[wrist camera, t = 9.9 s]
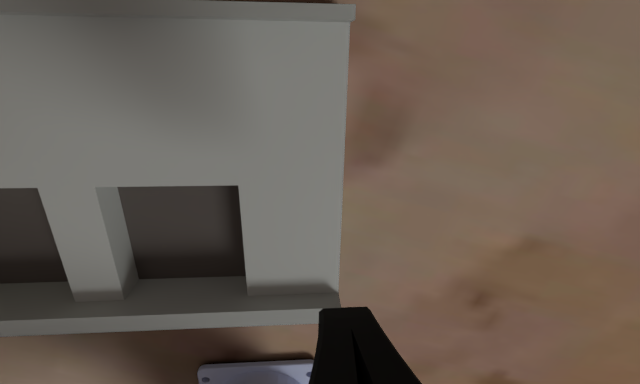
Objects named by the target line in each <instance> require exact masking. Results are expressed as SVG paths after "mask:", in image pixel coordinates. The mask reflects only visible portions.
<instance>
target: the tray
mask: <svg viewBox="0 0 640 384" xmlns="http://www.w3.org/2000/svg"><path fill="white" fill-rule="evenodd" d="M355 10H356V4H323V3H286V2H248V1H210V0H0V337H8V336H32V335H55V334H79V333H103V332H127V331H150V330H174V329H198V328H222V327H245V326H269V325H293V324H317V323H319V311H321V310H322V309H323V308H341V305H340V299H339V294H338V288H339V265H340V242H341V219H342V196H343V173H344V150H345V127H346V104H347V81H348V58H349V35H350V22H352V21H354V20H355Z"/></svg>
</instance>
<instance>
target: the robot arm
mask: <svg viewBox="0 0 640 384" xmlns="http://www.w3.org/2000/svg"><path fill="white" fill-rule="evenodd" d="M197 376H198V381H199V384H422V383H421V382H420V381H419V380H418V378H417V377H416V376H415V374H414V373H413V372H412V370H411V369H410V368H409V366H408V365H407V364H406V362H405V361H404V360H403V359H402V357H401V356H400V354H399V353H398V352H397V350H396V349H395V347H394V346H393V345H392V343H391V342H390V340H389V339H388V337H387V336H386V334H385V333H384V331H383V330H382V328H381V327H380V325H379V324H378V322H377V321H376V319H375V317H374V316H373V314H372V312H371V311H370V309H368V308H367V307H347V308H323V309H322V310H321V311H319V328H318V341H317V348H316V353H315V358H314V360H311V359H306V360H286V361H266V362H246V363H226V364H206V365H202V366H200V367H199V369H198V372H197Z"/></svg>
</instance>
